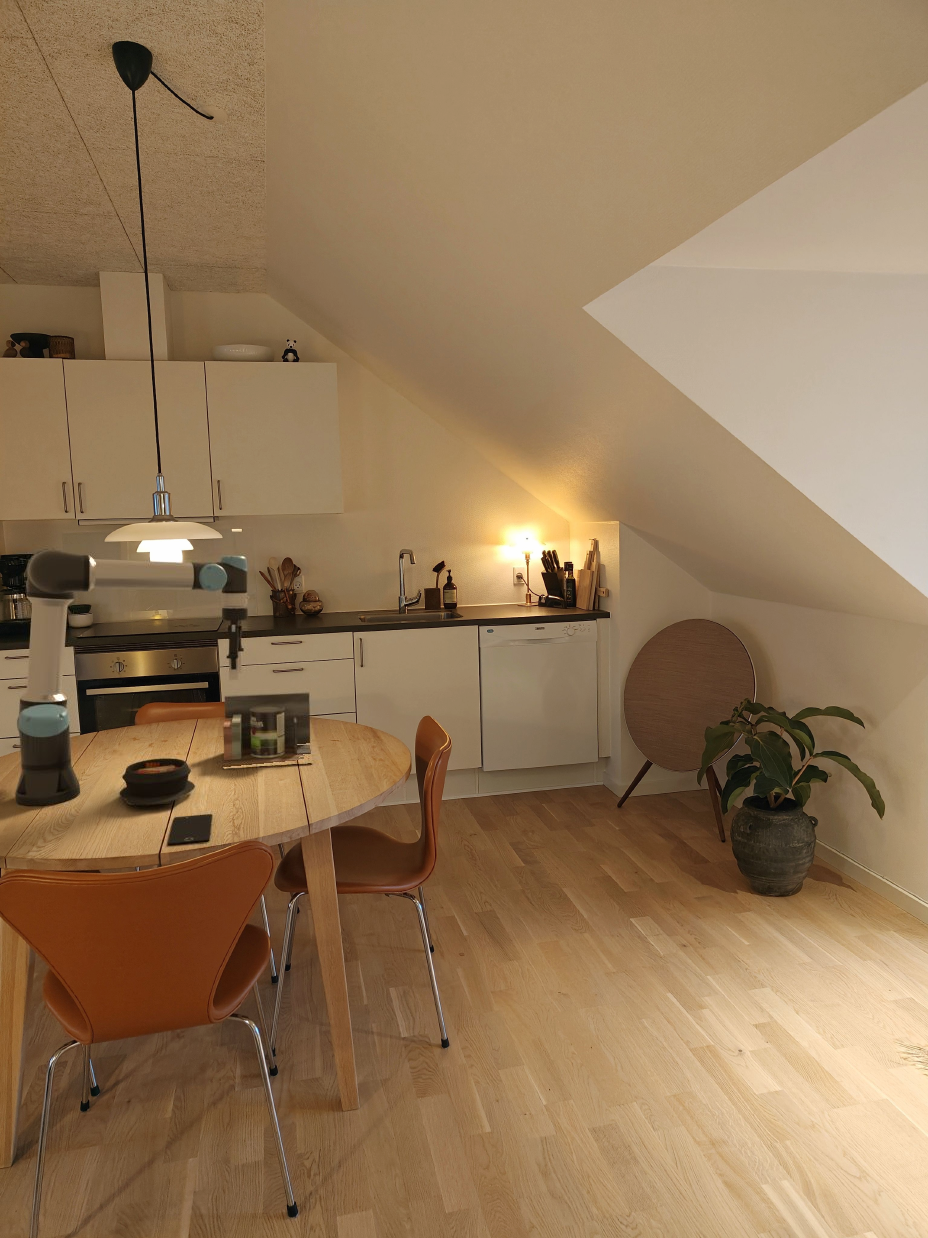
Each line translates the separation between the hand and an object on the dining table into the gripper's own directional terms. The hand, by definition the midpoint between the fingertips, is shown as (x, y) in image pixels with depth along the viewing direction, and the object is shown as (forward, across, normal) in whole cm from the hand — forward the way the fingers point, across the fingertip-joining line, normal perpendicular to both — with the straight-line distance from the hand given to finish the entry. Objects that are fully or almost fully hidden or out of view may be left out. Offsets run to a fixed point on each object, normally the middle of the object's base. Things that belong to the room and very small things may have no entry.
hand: (235, 676), depth 251 cm
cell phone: (+26, -62, +6) cm, 68 cm away
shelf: (+25, -2, -10) cm, 27 cm away
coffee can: (+24, -3, -10) cm, 26 cm away
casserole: (+26, -34, +18) cm, 47 cm away
